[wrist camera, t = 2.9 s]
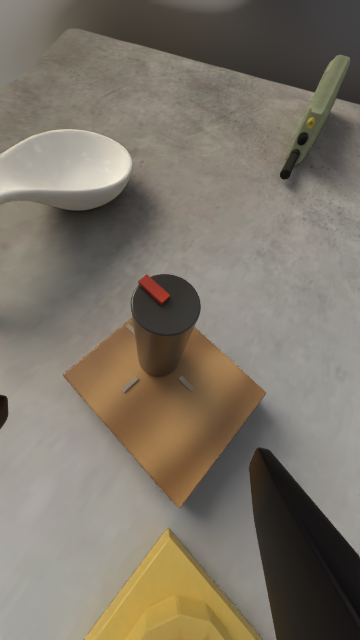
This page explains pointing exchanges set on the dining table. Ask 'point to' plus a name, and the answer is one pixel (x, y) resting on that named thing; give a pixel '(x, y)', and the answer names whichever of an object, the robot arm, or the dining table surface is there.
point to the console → (167, 406)
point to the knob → (163, 321)
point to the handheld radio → (316, 113)
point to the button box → (171, 602)
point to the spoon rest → (65, 170)
